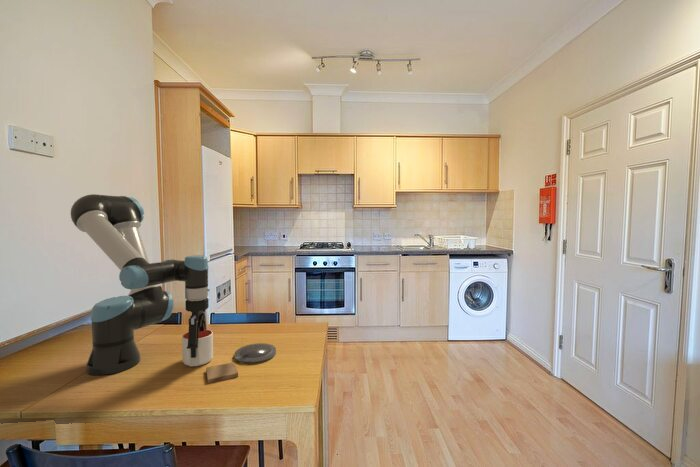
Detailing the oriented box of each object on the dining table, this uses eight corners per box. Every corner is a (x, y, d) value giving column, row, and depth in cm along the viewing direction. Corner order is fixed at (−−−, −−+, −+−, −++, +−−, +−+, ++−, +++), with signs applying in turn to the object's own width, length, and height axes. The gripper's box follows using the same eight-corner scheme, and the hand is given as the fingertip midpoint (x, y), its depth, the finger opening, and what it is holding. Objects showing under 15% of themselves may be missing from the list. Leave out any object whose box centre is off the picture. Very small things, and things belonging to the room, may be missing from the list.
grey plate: (232, 365, 111) (232, 360, 111) (237, 348, 125) (237, 344, 125) (275, 361, 114) (275, 356, 114) (275, 345, 129) (275, 341, 129)
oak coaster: (208, 383, 99) (207, 379, 99) (206, 371, 107) (206, 367, 107) (238, 376, 103) (238, 372, 103) (234, 365, 111) (234, 362, 111)
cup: (218, 356, 119) (218, 329, 118) (203, 368, 109) (203, 339, 108) (193, 354, 120) (192, 329, 119) (176, 367, 110) (175, 338, 109)
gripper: (200, 306, 103) (202, 372, 104) (214, 291, 125) (215, 346, 126) (175, 307, 102) (177, 375, 102) (193, 292, 124) (195, 347, 124)
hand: (198, 359), depth 114 cm, fingers closed on cup, 10 cm apart
